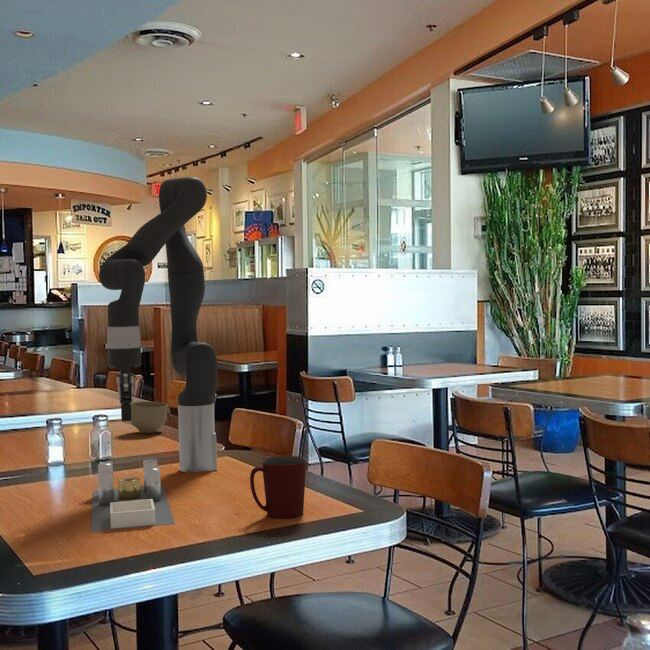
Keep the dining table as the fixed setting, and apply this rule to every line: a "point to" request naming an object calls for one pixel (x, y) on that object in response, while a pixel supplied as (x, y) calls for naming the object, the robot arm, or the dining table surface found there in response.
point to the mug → (282, 486)
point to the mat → (102, 513)
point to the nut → (129, 488)
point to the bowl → (148, 415)
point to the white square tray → (132, 513)
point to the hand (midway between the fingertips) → (126, 420)
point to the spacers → (150, 482)
